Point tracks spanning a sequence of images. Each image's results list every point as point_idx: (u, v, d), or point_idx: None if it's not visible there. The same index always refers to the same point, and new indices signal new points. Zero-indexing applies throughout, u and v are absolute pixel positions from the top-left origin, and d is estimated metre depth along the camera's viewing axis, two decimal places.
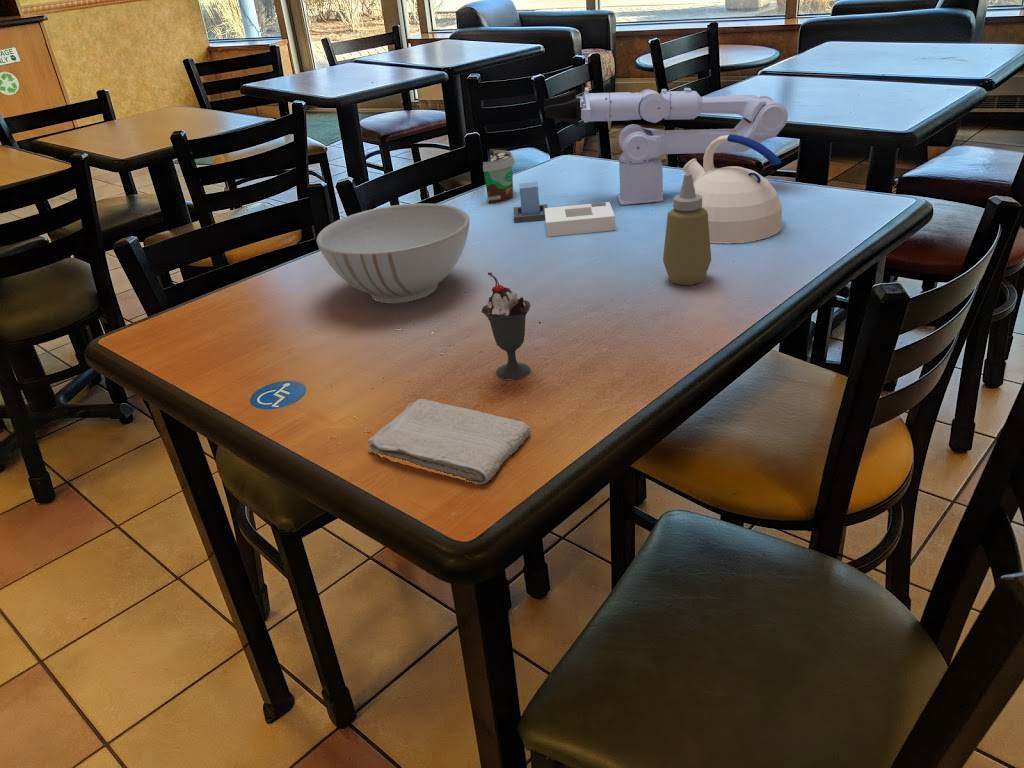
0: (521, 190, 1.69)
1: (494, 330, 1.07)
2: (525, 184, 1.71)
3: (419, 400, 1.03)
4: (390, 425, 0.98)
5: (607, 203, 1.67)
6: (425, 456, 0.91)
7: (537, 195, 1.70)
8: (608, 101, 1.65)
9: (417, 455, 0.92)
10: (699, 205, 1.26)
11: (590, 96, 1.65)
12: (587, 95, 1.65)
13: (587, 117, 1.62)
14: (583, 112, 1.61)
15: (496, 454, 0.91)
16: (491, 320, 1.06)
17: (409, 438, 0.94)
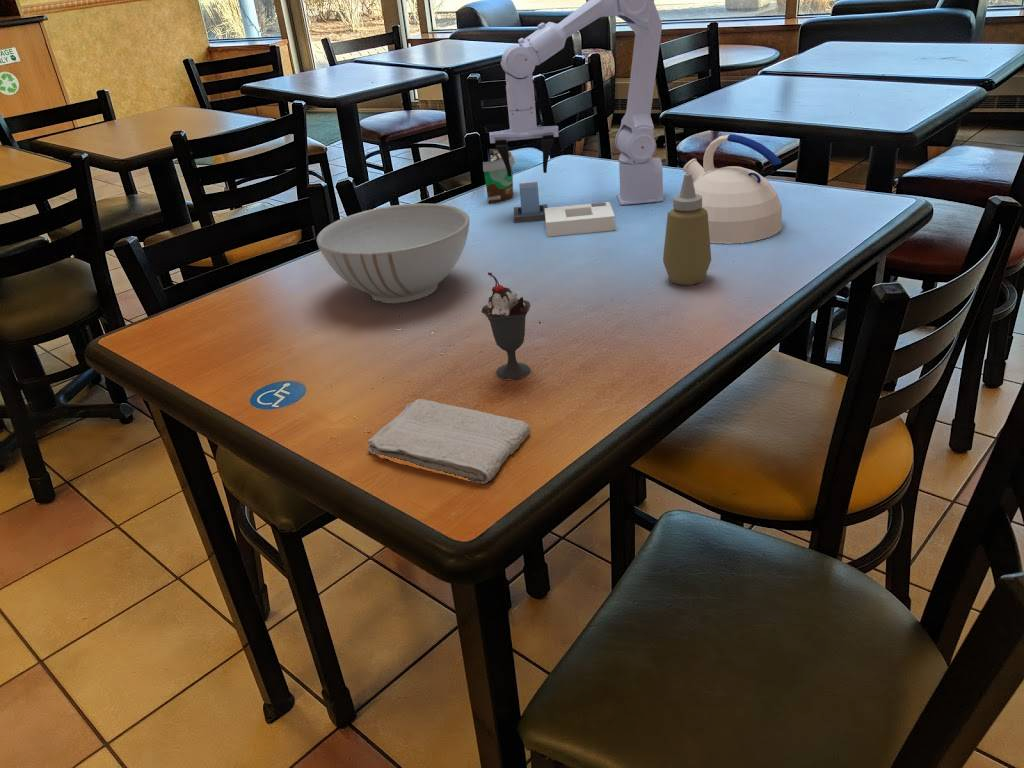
0: (521, 190, 1.69)
1: (494, 330, 1.07)
2: (525, 184, 1.71)
3: (418, 400, 1.03)
4: (390, 425, 0.98)
5: (607, 203, 1.67)
6: (426, 456, 0.91)
7: (537, 195, 1.70)
8: (533, 109, 1.62)
9: (418, 455, 0.92)
10: (699, 205, 1.26)
11: (530, 129, 1.63)
12: (531, 133, 1.63)
13: None
14: (558, 134, 1.65)
15: (497, 453, 0.91)
16: (491, 320, 1.06)
17: (409, 438, 0.94)
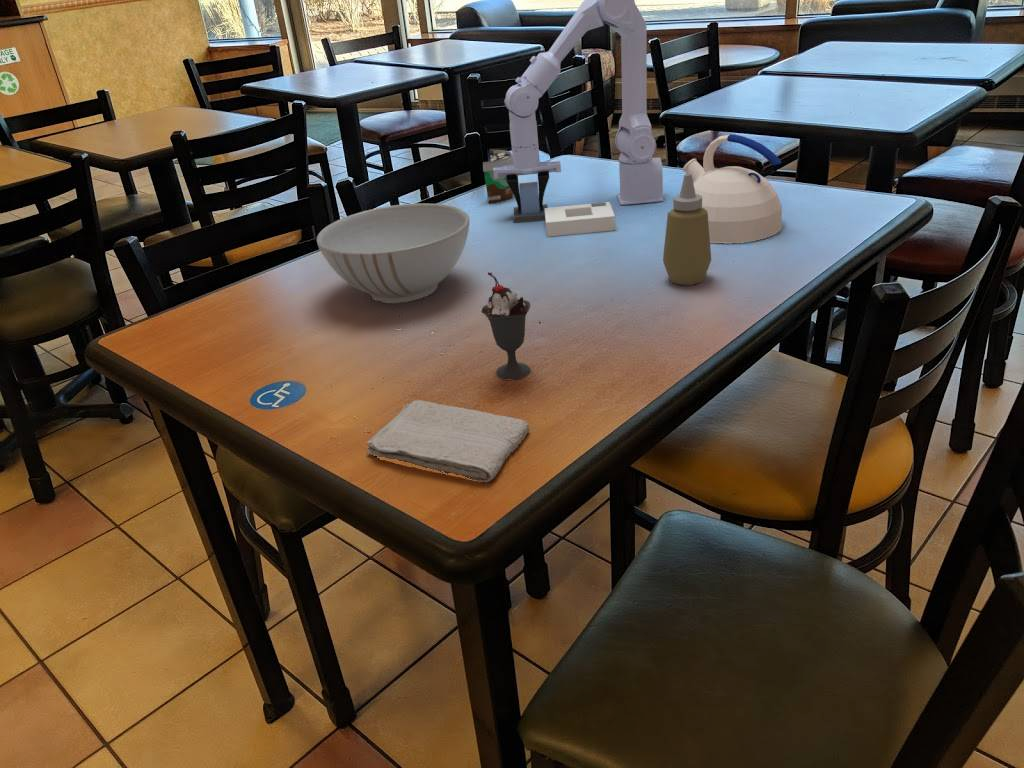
0: (521, 190, 1.69)
1: (494, 330, 1.07)
2: (525, 184, 1.71)
3: (415, 401, 1.03)
4: (388, 427, 0.98)
5: (607, 203, 1.67)
6: (427, 456, 0.91)
7: (537, 195, 1.70)
8: (535, 146, 1.65)
9: (419, 456, 0.92)
10: (699, 205, 1.26)
11: (533, 165, 1.66)
12: (534, 169, 1.66)
13: None
14: (560, 169, 1.69)
15: (498, 452, 0.91)
16: (491, 320, 1.06)
17: (409, 439, 0.94)
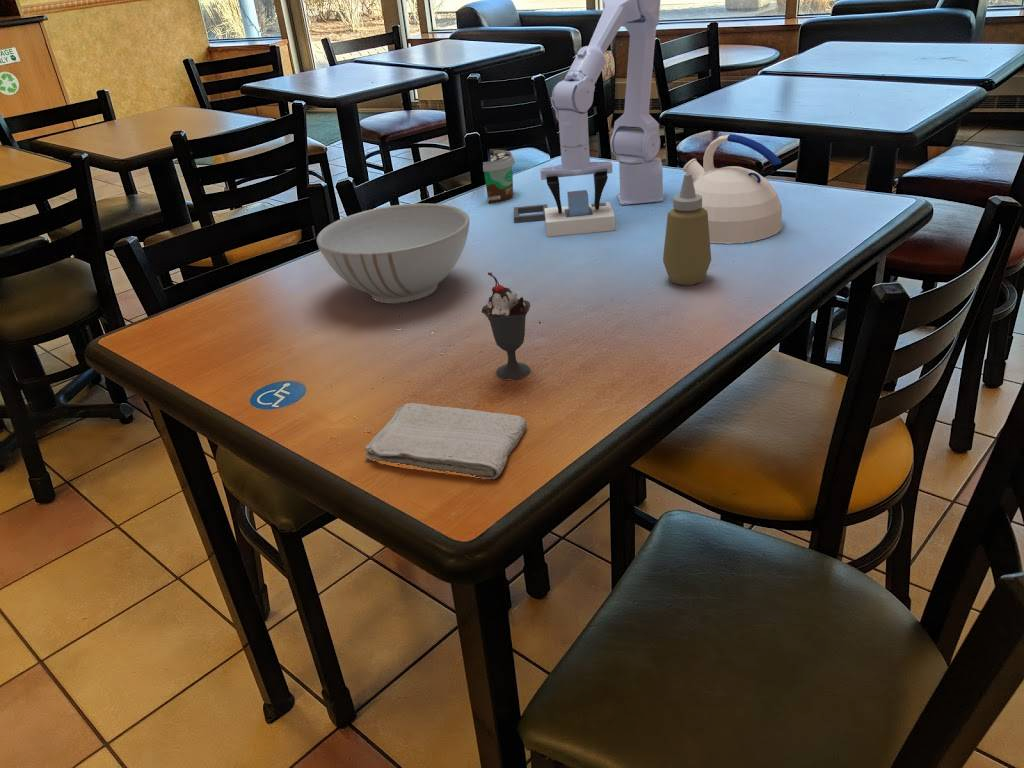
0: (570, 199, 1.60)
1: (494, 330, 1.07)
2: (574, 192, 1.62)
3: (407, 404, 1.02)
4: (385, 431, 0.97)
5: (607, 203, 1.67)
6: (431, 457, 0.91)
7: (587, 204, 1.61)
8: (586, 146, 1.55)
9: (422, 457, 0.91)
10: (699, 205, 1.26)
11: (583, 166, 1.56)
12: (584, 169, 1.56)
13: None
14: (611, 170, 1.59)
15: (502, 448, 0.92)
16: (491, 320, 1.06)
17: (409, 441, 0.94)
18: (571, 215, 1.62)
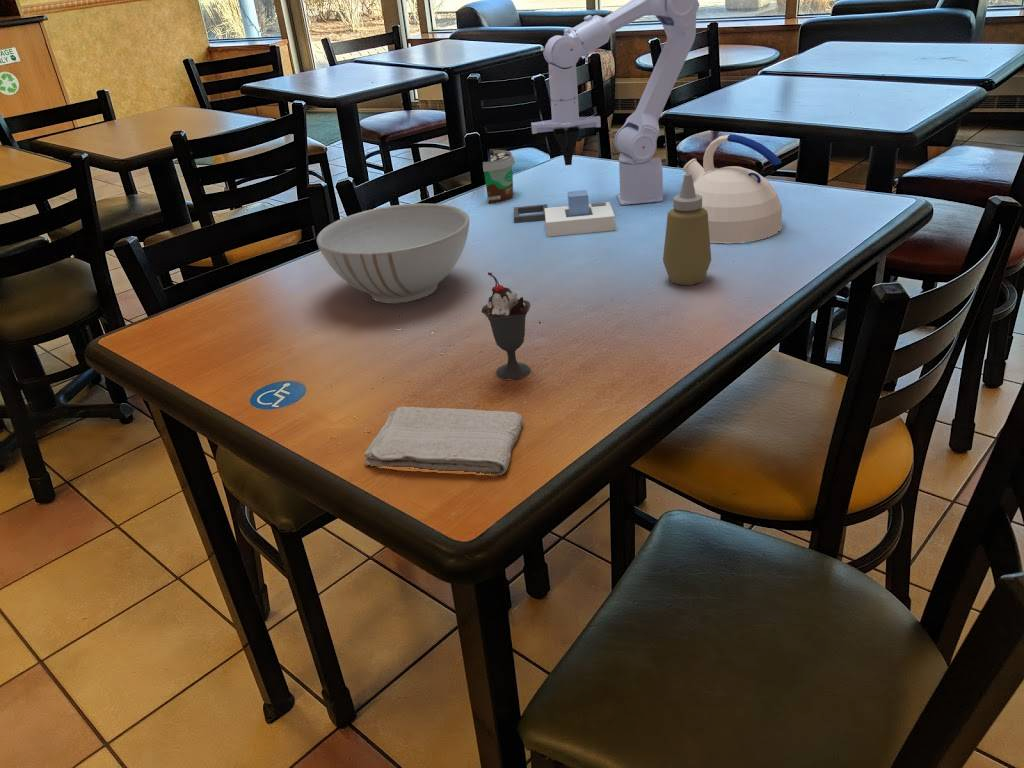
0: (570, 199, 1.60)
1: (494, 330, 1.07)
2: (574, 192, 1.62)
3: (399, 408, 1.02)
4: (382, 436, 0.96)
5: (607, 203, 1.67)
6: (436, 458, 0.91)
7: (587, 204, 1.61)
8: (575, 100, 1.62)
9: (427, 458, 0.91)
10: (699, 205, 1.26)
11: (572, 119, 1.63)
12: (573, 123, 1.63)
13: None
14: None
15: (505, 444, 0.92)
16: (491, 320, 1.06)
17: (410, 444, 0.93)
18: (571, 215, 1.62)
